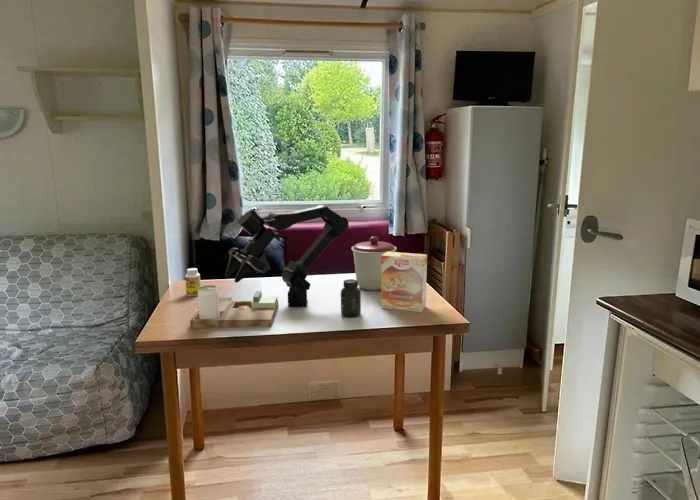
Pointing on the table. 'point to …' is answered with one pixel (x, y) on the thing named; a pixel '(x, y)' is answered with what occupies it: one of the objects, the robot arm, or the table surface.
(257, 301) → the cover
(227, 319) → the puzzle board
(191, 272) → the supplement bottle
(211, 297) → the can
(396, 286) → the coffeecake box
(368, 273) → the canister
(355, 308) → the supplement bottle
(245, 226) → the robot arm
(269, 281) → the table surface
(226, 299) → the mat
